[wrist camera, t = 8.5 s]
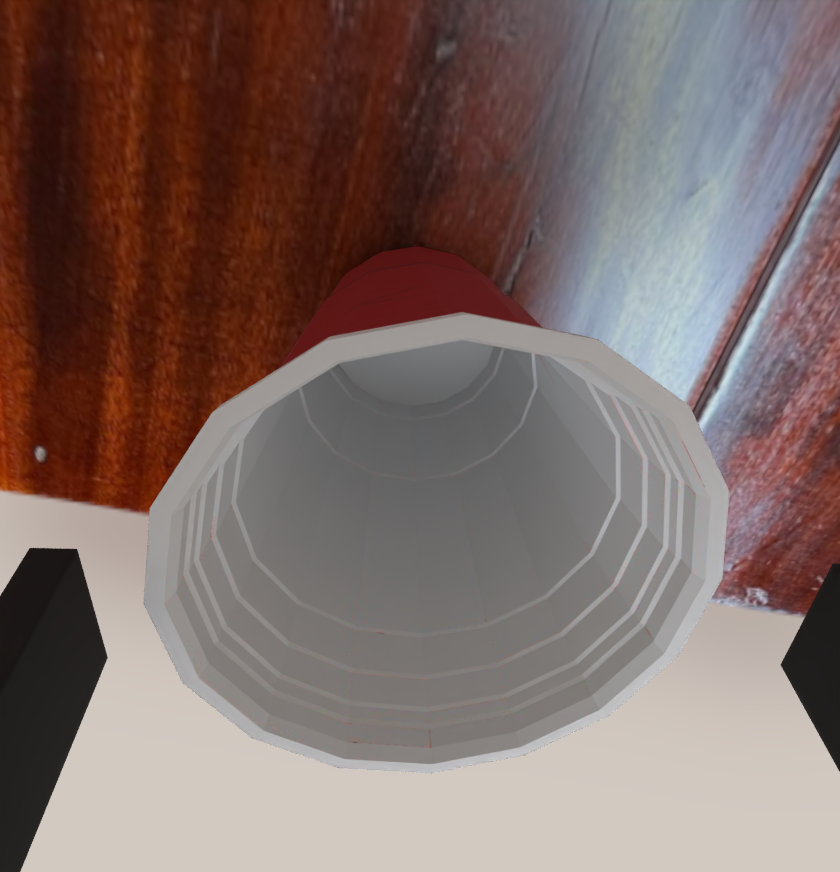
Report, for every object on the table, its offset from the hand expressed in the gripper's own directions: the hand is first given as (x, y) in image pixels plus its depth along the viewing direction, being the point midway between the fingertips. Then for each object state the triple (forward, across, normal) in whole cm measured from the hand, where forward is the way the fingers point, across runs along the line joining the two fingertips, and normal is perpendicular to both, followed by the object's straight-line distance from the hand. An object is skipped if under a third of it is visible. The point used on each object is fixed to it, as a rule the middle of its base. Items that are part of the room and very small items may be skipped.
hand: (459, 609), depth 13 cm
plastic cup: (+12, 0, 0) cm, 12 cm away
